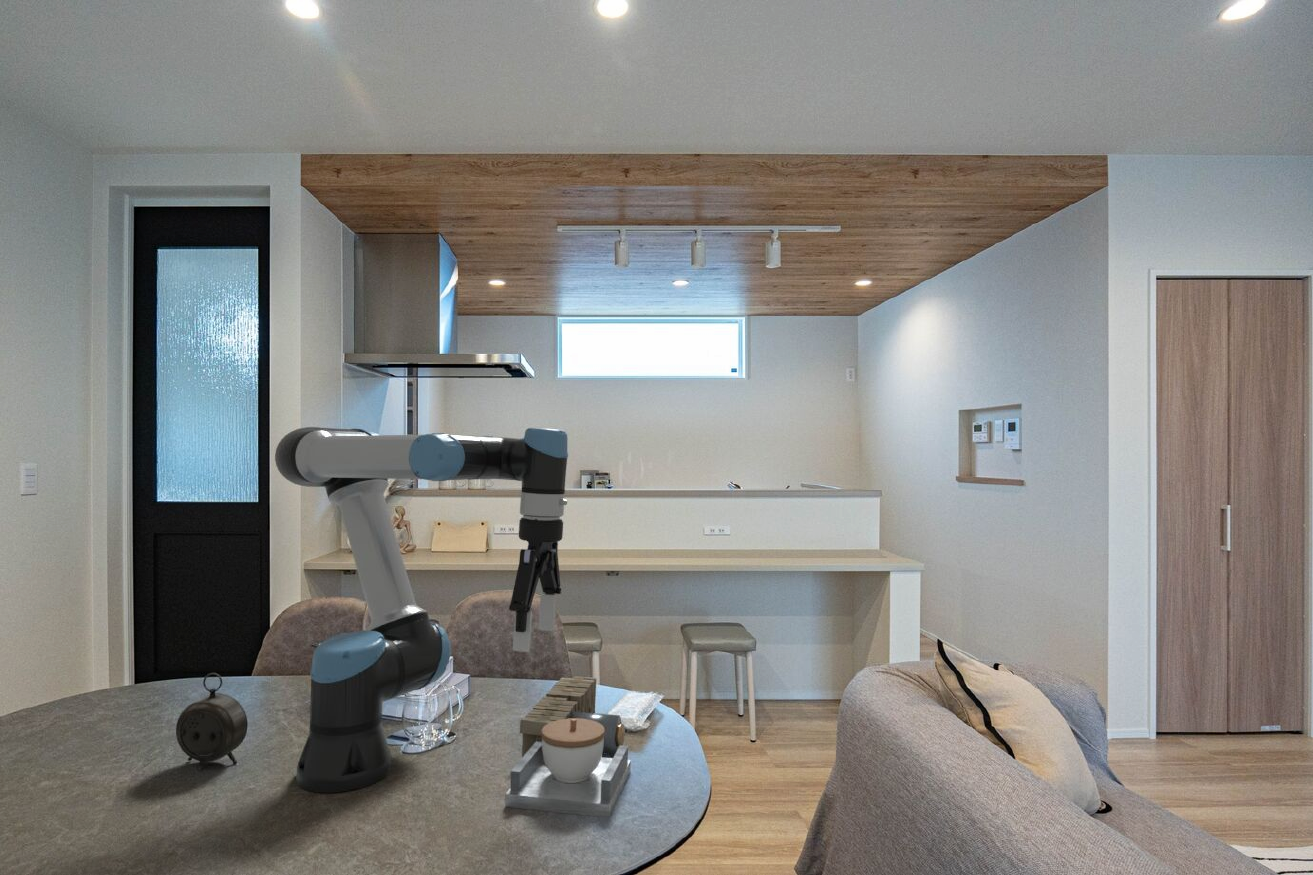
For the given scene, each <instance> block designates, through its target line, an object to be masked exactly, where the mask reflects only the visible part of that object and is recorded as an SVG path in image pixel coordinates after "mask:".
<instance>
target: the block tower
mask: <svg viewBox="0 0 1313 875" xmlns="http://www.w3.org/2000/svg"><path fill="white" fill-rule="evenodd" d="M596 693H597V677H594V676H593V677H592V676H577V675H575V676H573V677H572V678H570V677H561V678H560V679H559V680H558V681H556V683H555V684H554V685H553V686H552V687H551V688H550V689H549V690H548V691H547V693H546V694H545V696H542V697H541V699H540V700H539V701H538V702H537V703H535V705H534V706H533V707H532V709H530V710H529V712H528V713H527V714H526V715H525V716H524V717H522V718H521V719H520V721H519V733H520V734H522V744H521V745H522V747H521V750H522V751H521V758H522V757H523V756H524V755H525V754H526V753H527V752H528V750H529V749H530V748H531V747H532V746H533V744H534V743H535V742H536V741H537V740H538V739H539V738H541V739H542V736H541V732H542V729H543V727H544V726H545V725H547V724H548V723H551V722H553V721H556V720H561V719H569V718H570V715H571V713H572V712H585V713H596V698H597V697H596Z"/></svg>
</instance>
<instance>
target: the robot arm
mask: <svg viewBox="0 0 1313 875" xmlns="http://www.w3.org/2000/svg"><path fill="white" fill-rule="evenodd" d="M274 454H275V455H274V459H275V460H274V461H275V465H276V469H277V470H278V473H280V474H281V476H282V477H283V478H285V480H287V481H288V482H290V483H292V484H294V485H298V486H302V487H311V488H313V487H316V488H318V487H319V488H320V487H321V488H322V487H324V488H325V490H326V491H325V492H326V495H327V498H328V501H329V502H331V503H332V504H333V505H337V506H338V507H339V511H340V514H341V517H342V521H343V525H344V528H345V532H346V535H347V538H348V539H347V540H348V542H349V546H350V549H351V553H352V558H353V560H354V563H355V567H356V570H357V573H358V574H357V575H358V579H359V581H360V585H361V588H362V592H363V595H364V599H365V603H366V605H367V606H366V607H367V610H368V613H369V617H370V620H371V621H370V623H369V626H368V627H367V628H366V629H365V630H355V631H352V632H343V633H340V634H336V635H333V636H332V637H328V638H327V639H325V640H324V641H322V642H321V643H319V644H318V645H317V647H316V648H315V650H314V651H313V654H312V660H311V661H312V663H311V667H310V674H309V675H310V679H311V680H310V706H309V708H310V711H309V732H308V735H307V739H306V741H305V744H304V747H303V750H302V752H301V755H300V758H299V760H298V763H297V766H296V779H295V780H296V784H297V785H298V786H299V787H300V788H302V789H304V790H306V791H309V792H315V793H342V792H348V791H353V790H358V789H361V788H364V787H366V786H367V787H368V786H370V785H372V784H374V783H376V782H378V781H380V780H382V779H384V778H385V777H386V776H387V775H388V774H389V773H390V772H391V768H392V754H391V750H390V747H389V743H388V741H387V740H388V739H387V737H386V734H385V730H384V727H383V703H384V702H386V701H389V700H392V699H395V698H398V697H400V696H403V695H405V694H408V693H409V694H410V693H411V692H413V691H419V690H421V689H424V688H426V687H427V686H429V685H431V684H433V683H435V682H436V681H439V679H440V678H441V677H442V676H443V675H444V674H445V672H446V670H447V666H448V665H449V663H450V658H451V652H452V649H451V643H450V642H451V641H450V638H449V636H448V633H447V631H446V630H445V629H444V628H443V627H441V626H440V624H438V623H437V622H431V621H430V617H429V614H428V611H427V610H426V609H424V608H422V607H420V606H418V605H417V603H416V599H415V595H414V592H413V589H412V586H411V582H410V578H409V576H408V573H407V572H408V571H407V570H406V566H405V562H404V557H403V555H402V552H401V549H400V544H399V542H398V538H397V535H396V531H395V528H394V525H393V522H392V517H391V516H390V511H389V508H388V505H387V502H386V499H385V496H384V494H385V491H386V490H387V488H388V487H389V485H390V484H389V481H388V480H390V479H393V480H395V479H396V480H399V479H400V480H426V481H431V482H445V481H461V480H471V481H472V480H506V481H507V480H508V481H517V482H518V481H519V482H521V491H520V501H519V502H520V503H519V504H520V506H519V514H520V515H521V516H522V517H521V518H519V522H518V523H519V524H518V538H519V540H522V541H526V542H527V544H528V545H527V549H523V548H521V549H520V552H519V560H518V561H519V562H518V567H517V572H516V577H515V580H514V581H515V582H514V584H513V585H514V586H513V590H512V594H511V595H512V596H511V600H510V605H509V606H508V609H509V611H510V612H514V618H513V619H514V620H513V621H514V622H513V623H514V624H513V636H512V638H513V639H512V651H515V652H522V653H523V652H524V653H525V652H526V653H529V652H530V651H531V640H532V639H531V638H532V637H531V636H532V621H533V611H532V610H531V608H532V604H533V601H534V597H535V594H536V590H537V587H538V582H539V581H540V582H539V583H540V586H541V590H542V593H540V598H539V599H540V600H539V617H538V631H542V632H543V631H544V632H545V631H547V632H554V631H555V619H556V605H557V604H556V602H557V601H556V600H557V595H561V593H562V588H561V578H560V564H559V554H558V547H559V542H560V541H561V540H562V539H563V536H564V533H563V532H564V521H563V519H562V518H560V517H563V516H564V513H565V512H564V510H565V506H567V505H568V500H567V499H566V498H565V494H566V492H565V491H566V489H565V488H566V478H567V464H568V457H569V453H568V434H567V432H566V431H565V430H563V429H555V428H543V427H542V428H539V427H537V428H536V427H528V428H526V430H525V432H524V436H523V438H513V437H505V436H504V437H502V436H496V435H495V436H494V435H463V434H462V435H461V434H448V433H443V432H436V433H435V432H433V433H425V434H386V435H385V434H381V435H380V434H379V433H376V432H375V431H371V430H365V429H362V428H350V429H347V428H335V427H334V428H331V427H320V426H319V427H318V426H308V427H301V428H296V429H294V430H292V431H290V432H288V433H287V434H286V435H284V436H283V437H282V438H281V440H280V441H279V442H278V444H277V446H276V448H275V453H274Z"/></svg>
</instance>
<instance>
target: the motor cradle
mask: <svg viewBox="0 0 1313 875" xmlns="http://www.w3.org/2000/svg"><path fill="white" fill-rule="evenodd" d="M570 718H581V719H588V720H593V721H596V722H598V723H600V724H601V725H603V727H604V729H605V736H604V746H603V754H602V755H611V756H612V757H603V756H602V757H601V760H600V763H599V765H598V767H597V768H596V769H595V771H594V772H593V773H592V774H590V777H589V778H588V779H587V780H585V781H582V782H578V783H564V782H560V781H558V780H556V779H555V777H554V775H553V774H552V773H551V772H550V771H549V770H548V768H547V767H546V765H545V762H544V758H543V752H542V739H541V738H539V739H538V740H537V741H536V742H535V743H534V744H533V746H532V747H531V748H530V749H529V750H528V752H527V753H526V754H525V755H524V756H523V757H522V756H521V759H519V761H518V762H517V763H516V764H515V766H514V767H513V768H512V769H511V770H510V788H508V789H507V791H506V793H505V799H504V800H505V801H504V804H505V805H504V807H505V808H513V809H514V808H516V809H525V810H532V811H542V812H552V813H553V812H554V813H563V814H571V815H580V816H581V815H582V816H590V817H598V818H599V817H601V818H607V819H608V818H610V816H611V815H612V812H613V810H614V808H615V806H616V804H617V801H618V799H619V796H620V794H621V793H622V791H623V788H624V786H625V784H626V782H627V779H628V778H629V775H630V773H631V766H632V763H631V762H632V761H631V759H629V746H628V745H624V742H625V735H626V733H625V732H626V730H625V729H626V727H625V724H624V723H622V719H621V715H620V714H607V713H596V712H594V713H585V712H572V713H571V715H570Z"/></svg>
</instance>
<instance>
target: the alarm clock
mask: <svg viewBox="0 0 1313 875" xmlns="http://www.w3.org/2000/svg"><path fill="white" fill-rule="evenodd" d="M213 675H214V676H217V678H218V679H219V681H220V682H219V683H220V684H219V686H218V688H213V687H212V688H208V687H207V684H206V680H207V678H208V677H209V676H213ZM203 678H204V679H203V682H202V683H203V687H204V689H205V690H206V691H208V692H209V694H207V695H205V696H203V697H202V698H200V699H198V700H196V701H194V702H193V703H191V704H189V705H188V706H187V707H185V708H184V709H183V711H182V712H181V713H180V714H179V717H178V718H177V721H176V726H175V736H176V740H177V743H178V745H179V747H180V749H181V750H182V751H183V752H184V753H185V755H187V756H188V758H187V761H188V762H190V761H192V760H195V761H197V762H198V767H197V770H198V771H200V770H202V768H203V767H204V766H203V765H204V763H211V762H215V761H219V760H221V759H223V758H224V757H225V756H227V757H228V758H229V760H231V762H232V764H233V765H237V763H238V761H237V760H236V758H235V755H234V754H233V751H234V750H236V749H237V748H239V747H240V745H242V743H243V741H244V740H245V738H246V735H247V732H248V723H249V722H248V716H247V713H246V710H245V709H244V708H243V706H242V704H240V702H239V701H238V700H236V699H235V698H234V697H233V696H230V695H228V694H225V693H222V692H221V693H218V690H220V688H221V687H222V685H223V679H222V676H221V675H220V674H218V673H216V672H211V673H207V675H205V676H204V677H203ZM216 692H217V693H216Z"/></svg>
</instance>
